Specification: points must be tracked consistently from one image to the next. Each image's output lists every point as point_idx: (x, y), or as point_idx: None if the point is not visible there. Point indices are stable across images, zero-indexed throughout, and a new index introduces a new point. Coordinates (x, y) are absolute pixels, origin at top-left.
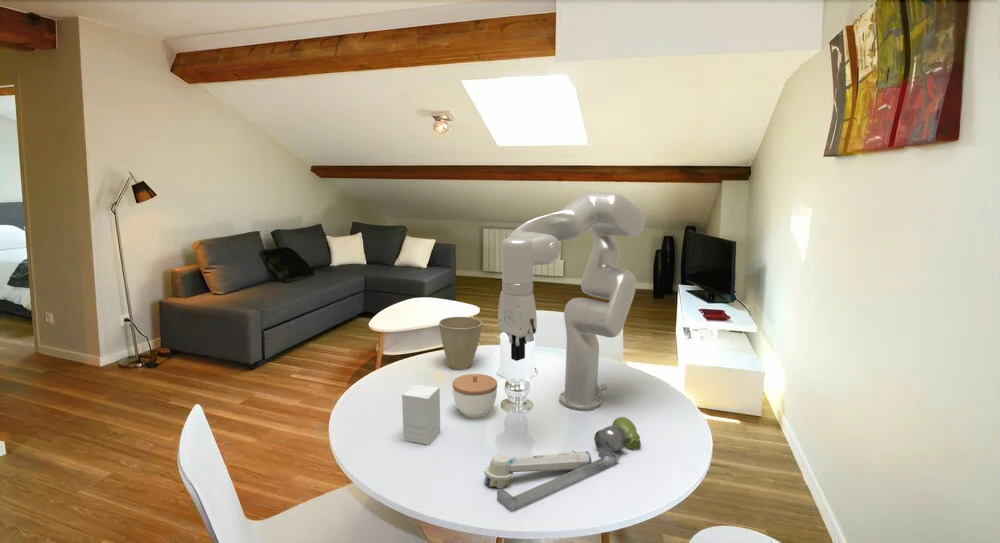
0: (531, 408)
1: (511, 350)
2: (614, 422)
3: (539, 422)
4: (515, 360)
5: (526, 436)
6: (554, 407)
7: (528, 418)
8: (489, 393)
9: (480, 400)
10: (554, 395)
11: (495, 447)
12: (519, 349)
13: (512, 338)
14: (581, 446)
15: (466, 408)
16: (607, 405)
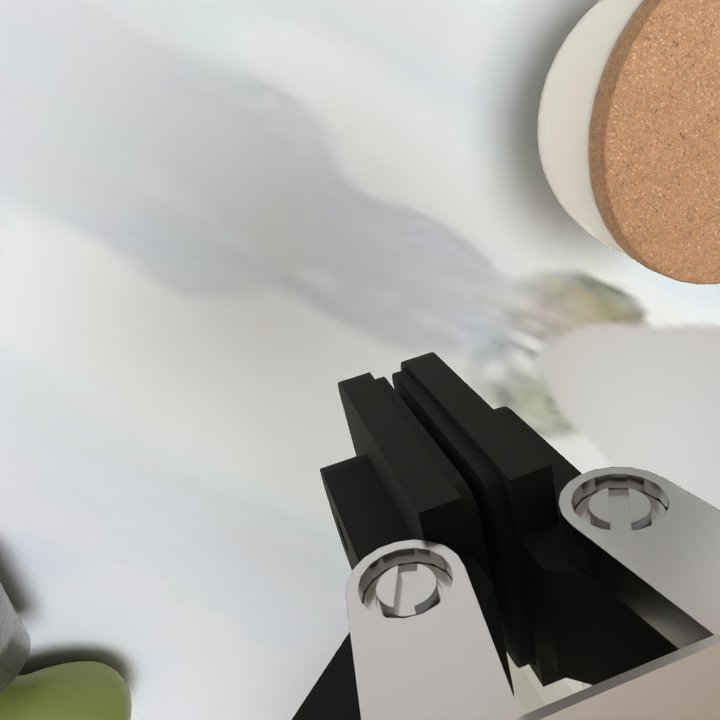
0: None
1: (478, 409)
2: (84, 709)
3: None
4: (339, 384)
5: (241, 270)
6: None
7: (415, 357)
8: (588, 174)
9: (572, 95)
10: None
11: (181, 37)
12: (349, 545)
13: (633, 582)
14: (44, 488)
15: (593, 7)
16: None
